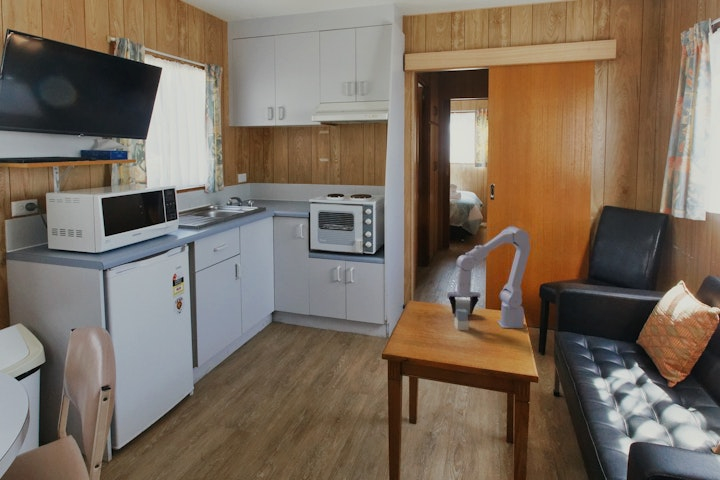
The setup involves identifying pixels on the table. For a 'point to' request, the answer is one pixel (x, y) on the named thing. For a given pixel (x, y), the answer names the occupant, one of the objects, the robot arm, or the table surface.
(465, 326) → the cream block
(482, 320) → the table surface
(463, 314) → the blue cube
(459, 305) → the ceramic mug
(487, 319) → the table surface
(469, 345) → the table surface
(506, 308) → the robot arm
